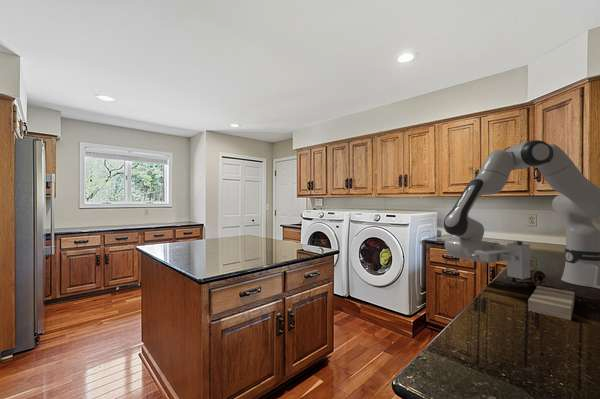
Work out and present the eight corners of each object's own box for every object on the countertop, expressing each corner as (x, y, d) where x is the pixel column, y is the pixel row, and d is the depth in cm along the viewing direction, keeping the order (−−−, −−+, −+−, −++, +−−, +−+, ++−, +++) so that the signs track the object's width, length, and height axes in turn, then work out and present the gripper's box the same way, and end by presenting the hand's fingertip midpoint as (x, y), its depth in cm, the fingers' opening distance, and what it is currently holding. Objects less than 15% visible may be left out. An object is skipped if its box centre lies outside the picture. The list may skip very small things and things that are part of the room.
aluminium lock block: (515, 274, 111) (514, 240, 111) (530, 277, 106) (529, 241, 106) (507, 275, 108) (507, 241, 108) (522, 279, 104) (522, 242, 104)
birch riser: (537, 295, 109) (537, 285, 109) (574, 302, 101) (574, 291, 101) (528, 311, 93) (528, 300, 93) (570, 320, 86) (570, 308, 86)
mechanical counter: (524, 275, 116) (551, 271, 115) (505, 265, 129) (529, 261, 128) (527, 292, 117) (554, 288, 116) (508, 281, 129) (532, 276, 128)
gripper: (466, 246, 114) (504, 251, 102) (498, 242, 123) (536, 246, 111) (466, 262, 114) (504, 269, 102) (498, 257, 123) (536, 263, 111)
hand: (521, 257), depth 106 cm, fingers closed on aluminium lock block, 5 cm apart
